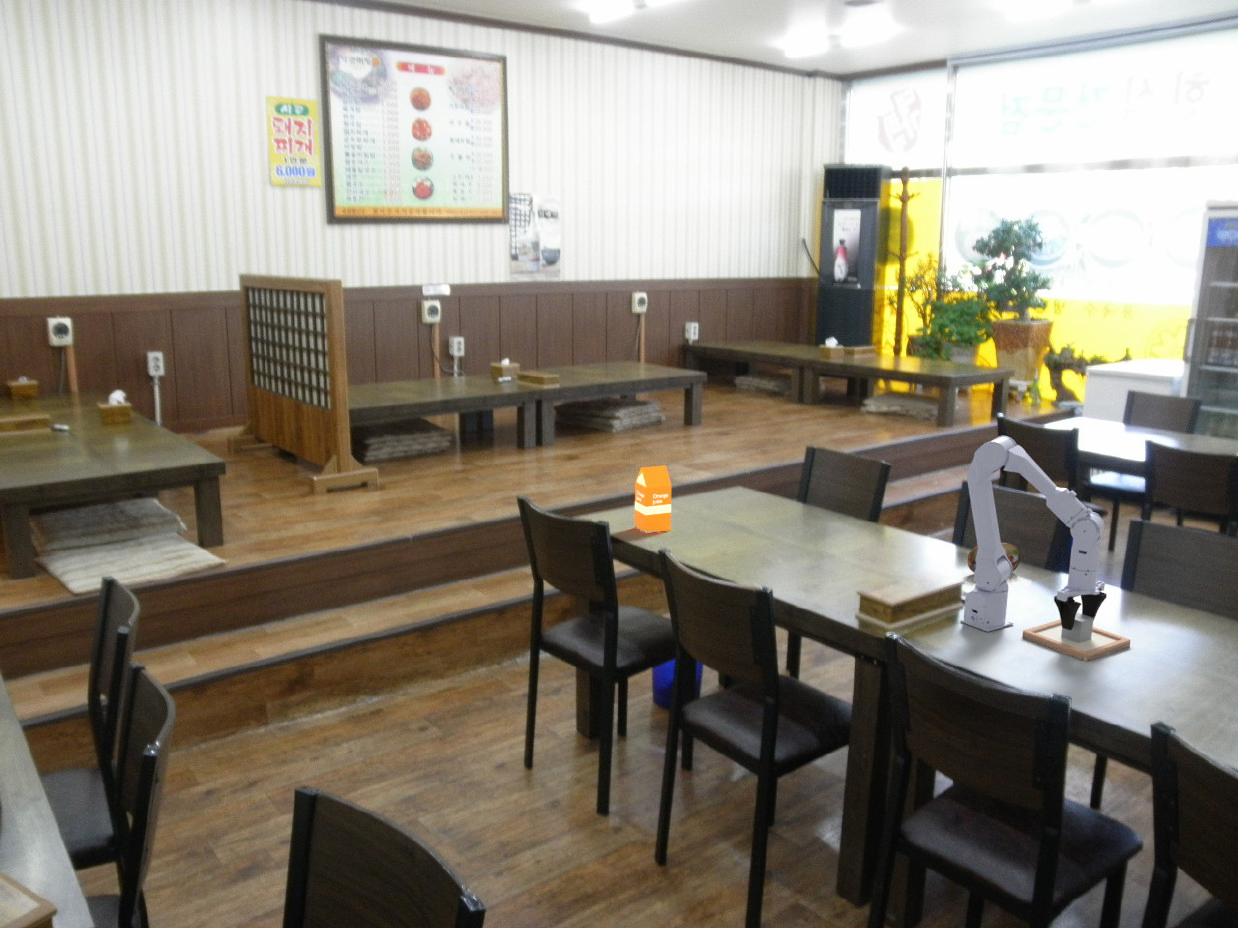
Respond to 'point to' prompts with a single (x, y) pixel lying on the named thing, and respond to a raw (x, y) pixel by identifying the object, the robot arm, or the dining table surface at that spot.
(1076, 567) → the robot arm
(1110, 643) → the picture frame
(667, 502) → the orange juice
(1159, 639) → the dining table surface
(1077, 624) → the block
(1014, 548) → the tin
